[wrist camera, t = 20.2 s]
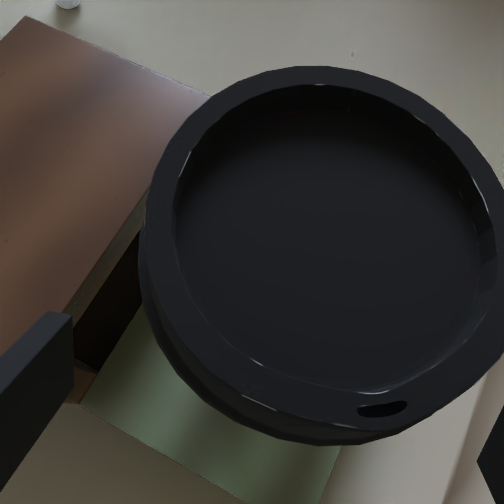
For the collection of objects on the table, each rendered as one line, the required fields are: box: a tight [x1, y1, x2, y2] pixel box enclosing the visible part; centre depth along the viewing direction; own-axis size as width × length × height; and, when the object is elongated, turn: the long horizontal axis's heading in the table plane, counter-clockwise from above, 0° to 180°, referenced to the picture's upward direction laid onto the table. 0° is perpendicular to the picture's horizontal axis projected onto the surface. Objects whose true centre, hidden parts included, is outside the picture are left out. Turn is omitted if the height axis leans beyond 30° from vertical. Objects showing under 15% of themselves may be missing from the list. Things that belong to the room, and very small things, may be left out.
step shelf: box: [0, 16, 341, 504], centre depth 21 cm, size 22×14×10 cm, turn 63°
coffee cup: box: [137, 66, 504, 447], centre depth 15 cm, size 8×8×15 cm
